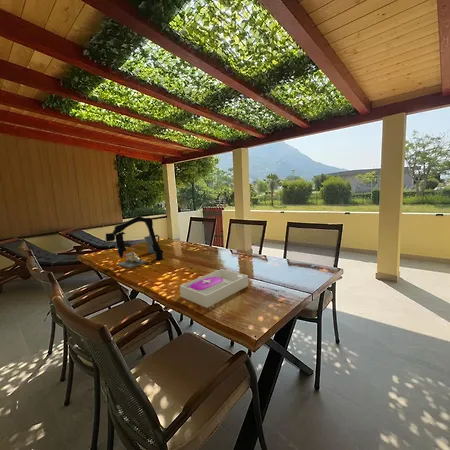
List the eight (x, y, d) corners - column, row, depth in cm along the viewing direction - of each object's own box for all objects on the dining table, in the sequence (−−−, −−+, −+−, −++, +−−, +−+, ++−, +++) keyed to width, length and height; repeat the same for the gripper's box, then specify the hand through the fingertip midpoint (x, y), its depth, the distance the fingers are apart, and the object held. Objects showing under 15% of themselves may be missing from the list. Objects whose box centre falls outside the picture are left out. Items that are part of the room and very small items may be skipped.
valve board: (146, 262, 211) (145, 261, 211) (129, 268, 198) (129, 266, 198) (134, 260, 222) (134, 258, 221) (118, 265, 209) (117, 263, 209)
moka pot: (144, 252, 249) (142, 233, 246) (159, 250, 255) (158, 232, 252) (146, 254, 240) (144, 235, 237) (161, 252, 247) (159, 233, 244)
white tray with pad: (248, 286, 148) (247, 275, 147) (207, 308, 123) (206, 295, 122) (222, 278, 164) (221, 268, 163) (180, 297, 138) (179, 285, 137)
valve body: (142, 262, 208) (141, 255, 207) (137, 264, 204) (136, 256, 203) (130, 259, 219) (130, 252, 218) (125, 261, 215) (124, 254, 214)
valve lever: (134, 254, 212) (133, 252, 212) (134, 254, 210) (134, 252, 210) (118, 257, 204) (118, 254, 204) (119, 257, 203) (118, 255, 202)
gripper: (131, 240, 197) (133, 258, 199) (127, 237, 213) (129, 254, 215) (117, 242, 191) (119, 261, 193) (114, 239, 207) (116, 256, 209)
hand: (121, 258), depth 203 cm, fingers closed
